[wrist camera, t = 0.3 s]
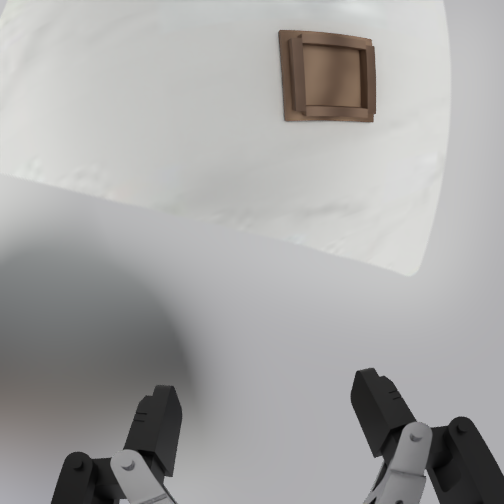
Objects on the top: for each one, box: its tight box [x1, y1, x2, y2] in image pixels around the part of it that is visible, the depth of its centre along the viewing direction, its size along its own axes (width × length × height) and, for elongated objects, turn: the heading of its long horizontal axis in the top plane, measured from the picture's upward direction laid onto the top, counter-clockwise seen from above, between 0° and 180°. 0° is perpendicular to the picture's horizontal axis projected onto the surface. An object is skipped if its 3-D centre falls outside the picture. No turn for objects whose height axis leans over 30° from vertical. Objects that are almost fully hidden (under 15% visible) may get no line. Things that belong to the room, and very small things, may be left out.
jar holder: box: [279, 30, 376, 122], centre depth 26 cm, size 12×12×3 cm
